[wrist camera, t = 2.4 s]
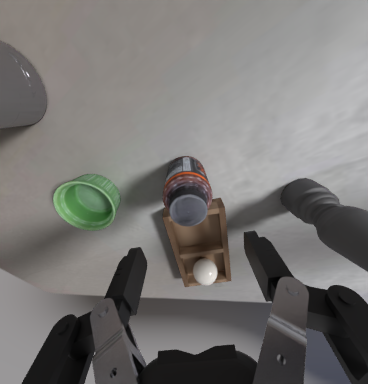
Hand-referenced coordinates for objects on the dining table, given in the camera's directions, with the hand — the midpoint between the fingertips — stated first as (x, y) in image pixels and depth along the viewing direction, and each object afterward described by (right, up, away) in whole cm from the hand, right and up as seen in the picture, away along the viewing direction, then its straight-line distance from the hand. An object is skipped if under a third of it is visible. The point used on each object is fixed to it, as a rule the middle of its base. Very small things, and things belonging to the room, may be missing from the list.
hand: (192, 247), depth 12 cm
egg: (+4, -11, +23) cm, 25 cm away
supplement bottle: (0, +8, +14) cm, 16 cm away
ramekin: (-16, +4, +16) cm, 23 cm away
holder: (+3, -6, +21) cm, 22 cm away
